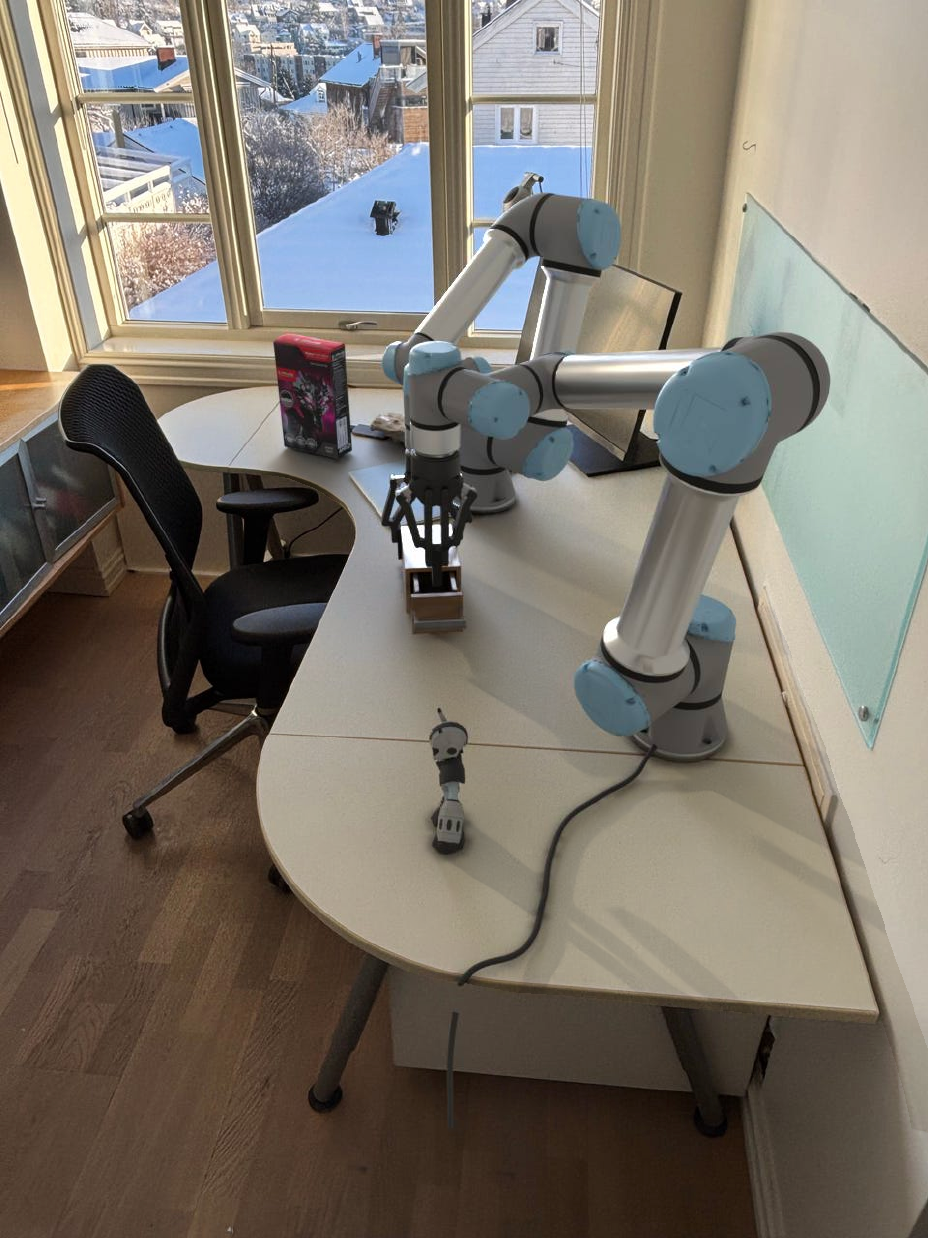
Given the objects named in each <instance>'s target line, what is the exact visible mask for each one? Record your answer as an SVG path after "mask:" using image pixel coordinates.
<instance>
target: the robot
mask: <svg viewBox="0 0 928 1238" xmlns="http://www.w3.org/2000/svg"><path fill="white" fill-rule="evenodd" d="M436 712H437V714H438V717H439V719H440V723H438V724H437V725H436V726H434V728H432V729H431V731H430V733H429V735H428V739H429V745H430V747H431V750H432V759H433V760H434V761H436V762H435V765H436V767H437V769H438V771H439V773H438V782H439V787H440V788H441V789H440V790H441V791H442V794H443V795H442V797H441V800H440V802H439V804H438V805H439V806H437V808H436V810H435V811H434V812H433V813H432V815H431V817H430V819H431V821H432V824H433V826H434V827H435V828H436V832H435V835H434V837H433V840H432V843H431V846H432V848H434V850H435V851H436V852H437V853H439V854H444V855H450V854H454V853H456V852H459V851H461V850H462V849H463V848H464V846H465V843H466V836H465V835H466V832H465V830H464V827H463V825H464V822H465V818H464V817H465V816H464V814H465V811H464V807H463V803H462V802H461V801H460V800H459V793H460V790H461V789H460V784H466V769H465V766H464V763H463V756H462V755H463V754H464V747H466V746H467V744H468V741H469V733H468V731H467V728H465V726H463V724H461V723H460V722H457V721H454V720H447V718H446V715H445V714H444V712H443V711H442V709H441V707H438V708H437V709H436Z"/></svg>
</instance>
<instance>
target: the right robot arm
mask: <svg viewBox="0 0 928 1238" xmlns="http://www.w3.org/2000/svg"><path fill="white" fill-rule="evenodd" d="M462 358H463V357H462V350H461V349H460V348H459V347H458V346H457V344H452V343H449V342H443V341H430V342H424V343H420V344H418V345H416V346H414V347H413V348H412V349H411V351H410V354H409V371H408V377H409V403H410V442H411V448H412V450H411V477H410V479H409V481H408V485H405V486H404V487H402V488H401V487H400V488H397V489H396V490H395V501H396V502H397V504H398V506H399V505H400V506H401V507H402V508H403V511H404V515H405V516H404V518H405V520H406V524H407V525H406V526H408V528H409V531H410V534H411V538H412V541H413V544H414V547H415V548H423V549H424V550H425V565H426V567H432V582H433V587H438V586H442V566H448V564H449V549H450V548H451V547H453V546H457V547H459V546H460V545H461V542H462V540H463V539H462V535H463V536H464V531H465V528H466V525H467V523H466V521H467V517H468V514H469V510H470V507H471V505H472V503H473V502H474V501H475V499H476V498H477V491H476V488H475V486H473V485H472V486H468V485H467V484H465V483H464V482H463V478H462V477H461V474H460V465H461V451H460V449H459V448H460V446H461V425H463V426H466V427H468V428H470V429H472V430H474V431H477V432H478V433H480V434H482V435H487V436H489V437H494V438H497V439H502V440H506V439H510V438H512V437H514V436H516V435H517V433H518V431H519V430H521V429H523V427H524V426H525V424H526V422H527V420H528V417H530V416H533V415H535V414H538V413H540V412H543V411H546V410H551V409H563V410H626V411H627V410H629V411H630V410H632V411H633V410H634V411H636V410H637V411H639V410H640V411H641V410H643V411H644V410H645V411H653V413H652V414H653V415H652V417H653V418H652V428H653V433H654V434H656V436H657V438H658V440H657V442H656V444H657V447H658V449H659V455H658V459H659V463H660V465H661V467H662V469H663V470H664V471H665V472H666V476H665V479H664V482H663V485H662V487H661V488H662V489H661V491H660V495H659V498H658V501H657V504H656V507H655V510H654V514H653V516H652V519H651V522H650V526H649V528H648V532H647V534H646V538H645V541H644V544H643V547H642V550H641V553H640V556H639V559H638V562H637V565H636V568H635V571H634V574H633V578H632V580H631V583H630V587H629V590H628V593H627V596H626V598H625V601H624V605H623V608H622V611H621V614H620V615H619V616H616V617H614V618H613V619H611V620H610V621H609V622H608V623H607V624H606V625H605V627H604V629H603V631H602V635H601V639H600V642H599V644H598V647H597V650H596V653H595V654H594V655H593V657H592V658H591V659H586V660H584V661H583V662H582V664H581V665H580V666H579V667H578V668H577V669H576V671H575V673H574V676H573V689H574V693H575V696H576V699H577V701H578V703H579V704H580V706H581V709H582V710H583V712H584V713H585V714H586V715H587V717H588V718H589V719H590V720H591V721H592V723H594V724H595V725H596V726H597V727H598V728H600V729H601V730H603V731H605V732H606V733H608V734H610V735H612V736H616V737H626V738H628V737H629V738H630V739H631V741H632V742H634V744H636V745H637V746H638V747H639V748H640V749H641V750H643V751H645V752H646V753H645V755H644V757H643V758H642V759H641V762H640V763H639V765H638V766H637V768H636V770H634V772H632V774H630V776H628V777H626V778H625V779H623V780H622V781H620V782H618V783H617V784H614V785H612V786H609V788H606V789H604V790H603V791H601V792H600V793H598V794H596V795H595V796H593V797H591V798H590V799H588V800H587V801H584V802H583V803H582V804H580V805H578V806H577V807H576V808H574V809H573V810H572V811H571V812H569V813H568V815H566V816H565V817H564V818H563V820H562V821H561V822H560V824H559V825H558V827H557V829H556V830H555V833H554V835H553V838H552V840H551V843H550V847H549V850H548V853H547V857H546V861H545V865H544V871H543V880H542V881H543V882H542V890H541V897H540V900H539V904H538V908H537V912H536V917H535V920H534V925H533V928H532V930H531V933H530V935H529V936H528V938H527V940H526V941H525V942H524V943H523V944H522V945H521V946H520V947H519V948H517V949H516V950H514V951H512V952H510V953H507V954H503V955H500V956H495V957H492V958H491V957H490V958H488V959H484V960H481V961H479V962H477V963H475V964H473V965H472V966H471V967H469V968H468V969H467V970H466V971H465V972H464V973H462V975H461V976H460V978H459V979H458V981H457V983H456V985H457V987H463V986H464V985H465V984H466V982H467V981H468V980H469V979H470V978H471V977H472V976H473V975H474V974H476V973H477V972H479V971H481V970H482V969H485V968H489V967H491V966H496V965H499V964H503V963H507V962H510V961H513V960H515V959H517V958H519V957H521V956H522V955H523V954H525V953H526V952H527V951H528V950H529V949H530V948H531V946H532V945H533V943H534V942H535V941H536V939H537V937H538V935H539V932H540V930H541V926H542V923H543V918H544V913H545V909H546V905H547V900H548V896H549V889H550V880H551V869H552V864H553V860H554V856H555V852H556V849H557V847H558V846H557V845H558V843H559V840H560V837H561V835H562V833H563V832H564V829H565V828H566V826H567V825H568V824H569V823H570V822H571V820H572V819H574V817H576V816H577V815H578V814H580V813H581V812H582V811H584V810H586V809H588V808H589V807H591V806H592V805H594V804H596V803H597V802H599V801H600V800H602V799H603V798H605V797H606V796H607V797H608V795H611V794H612V793H615V792H616V791H619V790H620V789H622V788H624V787H626V786H627V785H629V784H631V783H632V782H633V781H634V780H636V778H638V776H640V774H641V773H642V771H643V770H644V768H645V766H646V764H647V763H648V762H649V760H650V758H651V757H652V756H654V757H656V758H659V759H662V760H666V761H670V762H675V763H694V762H700V761H703V760H706V759H709V758H711V757H714V755H716V754H718V752H720V751H721V750H722V748H723V747H724V744H725V743H726V740H727V739H726V738H727V734H728V721H727V716H726V712H725V708H724V707H725V706H724V701H723V692H724V686H725V682H726V678H727V674H728V669H729V664H730V659H731V654H732V651H733V647H734V642H735V640H736V627H737V619H736V616H735V615H734V612H733V611H732V609H731V608H730V607H728V606H727V605H726V604H725V603H723V602H722V601H720V600H719V599H717V598H714V597H712V596H709V595H707V594H703V592H704V589H705V587H706V585H707V582H708V579H709V576H710V574H711V571H712V569H713V566H714V564H715V561H716V560H717V559H716V558H717V556H718V554H719V551H720V548H721V546H722V543H723V542H724V539H725V537H726V534H727V531H728V528H729V526H730V523H731V521H732V519H733V516H734V513H735V510H736V509H737V506H738V503H739V501H740V498H741V497H742V496H745V495H749V494H752V493H753V492H755V491H757V489H758V488H759V487H760V485H761V483H762V481H763V479H764V476H765V473H766V471H767V469H768V466H769V464H770V461H771V459H772V456H773V454H774V451H775V449H776V447H777V446H778V444H780V443H782V442H783V441H785V440H787V439H788V438H791V437H793V436H794V435H796V434H798V433H800V432H802V431H803V430H805V429H806V428H807V427H808V426H810V425H811V424H812V423H813V422H814V421H815V420H816V419H817V418H818V417H819V415H820V414H821V413H822V410H823V409H824V407H825V405H826V403H827V401H828V397H829V395H830V389H831V373H830V367H829V364H828V362H827V359H826V357H825V356H824V354H823V353H822V352H821V350H820V349H819V348H818V346H817V345H815V343H813V342H812V341H811V340H810V339H808V338H806V337H804V336H801V335H800V334H796V333H793V332H788V331H787V332H786V331H776V332H775V331H774V332H770V333H769V332H768V333H765V334H759V335H752V336H751V335H750V336H740V337H739V336H737V337H731V338H730V339H728V340H726V341H725V342H724V343H723V345H721V346H716V347H715V346H714V347H697V348H695V347H694V348H678V349H659V350H658V349H656V350H639V351H619V352H617V351H616V352H599V353H579V354H577V353H575V354H574V353H572V352H571V351H566V350H564V351H558V352H551V353H547V354H544V355H543V356H541V357H538V358H535V359H532V360H530V359H529V360H527V361H523V362H520V363H517V364H514V365H513V364H512V365H510V366H507V367H504V368H500V369H498V370H495V371H494V370H493V372H491V373H488V374H482V373H479V372H476V371H473V370H470V369H468V368H465V367H463V366H461V364H462V360H463V359H462ZM460 491H461V497H462V499H461V502H460V506H459V510H458V509H457V510H458V513H457V517H456V521H455V524H454V528H453V532H452V535H451V536H449V524H450V513H449V504H450V503H451V502H452V501H453V500H454V498H455V497H456V496H457V495H458V493H459V492H460ZM411 492H412V493H413V494H414V495H415V496H416V499H417V500H418V501H419V503H420V504H422V505H423V526H424V537H420V534H419V530H418V527H417V526H418V524H417V520H416V516H415V513H414V510H413V507H412V504H411V503H410V500H411ZM434 507H439V525H440V541H441V543H438V544H433V525H434V523H433V513H434V511H433V510H434V509H433V508H434ZM461 539H462V540H461ZM451 1013H452V1014H451V1015H452V1016H451V1021H450V1026H449V1027H450V1028H449V1035H448V1045H447V1057H446V1058H447V1059H446V1095H447V1096H446V1097H447V1098H446V1099H447V1119H446V1120H447V1121H446V1122H447V1125H446V1126H447V1127H446V1128H447V1131H452V1130H453V1128H454V1054H455V1045H456V1044H455V1043H456V1034H457V1028H458V1021H459V1015H460V1014H459V1012H457V1011H452V1012H451Z"/></svg>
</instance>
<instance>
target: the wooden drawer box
mask: <svg viewBox="0 0 928 1238" xmlns="http://www.w3.org/2000/svg"><path fill="white" fill-rule="evenodd" d="M417 527H418V530H419V534H420V537H424V525H417ZM452 532H453V529H452V524H451V523H449V536H451V535H452ZM401 535H402V560H401V572H402V582H403V583H402V584H403V590H404V591H403V592H404V602H405V611H406V614H412V610H411V594H412V588H411V572H430V571H432V567H426V565H425V550H424V549H423V548H415V547H414V544H413V541H412V538H411V534H410V531H409V528H408V525H403V526H402V525H401ZM438 543H441V541H440V524H433V544H438ZM442 571H453V572H454V577H455V581H456V586H457V592H462V564H461V560H460V556H459V552H458V546H457V547H456V546H453V547H451V548H450V549H449V564H448V566H442Z"/></svg>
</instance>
